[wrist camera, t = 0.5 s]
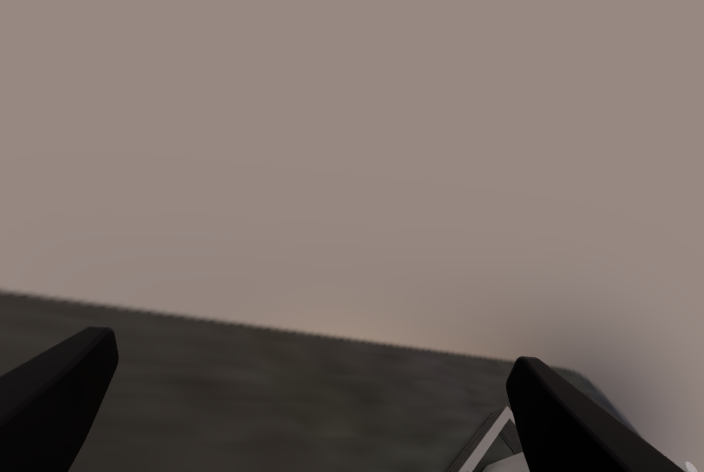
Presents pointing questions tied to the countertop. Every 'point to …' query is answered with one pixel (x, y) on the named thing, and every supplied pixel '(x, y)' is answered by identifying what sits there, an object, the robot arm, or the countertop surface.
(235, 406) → the countertop surface
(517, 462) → the eye dropper bottle
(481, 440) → the tray
